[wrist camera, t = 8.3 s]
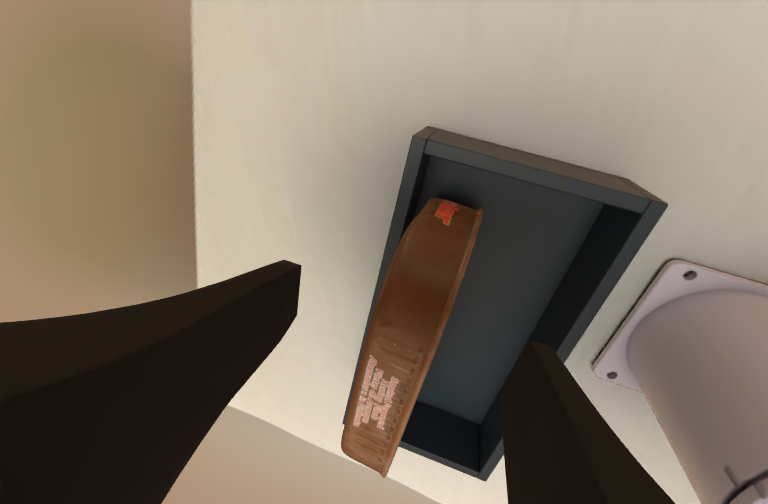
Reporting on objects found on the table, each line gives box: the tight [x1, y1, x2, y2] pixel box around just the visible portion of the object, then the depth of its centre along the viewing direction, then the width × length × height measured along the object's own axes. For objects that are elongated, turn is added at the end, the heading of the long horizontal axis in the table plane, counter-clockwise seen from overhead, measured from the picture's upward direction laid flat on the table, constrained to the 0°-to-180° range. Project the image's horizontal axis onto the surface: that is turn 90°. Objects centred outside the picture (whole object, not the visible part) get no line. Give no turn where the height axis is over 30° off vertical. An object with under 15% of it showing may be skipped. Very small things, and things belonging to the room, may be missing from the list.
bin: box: [343, 126, 668, 481], centre depth 19 cm, size 10×19×4 cm, turn 167°
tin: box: [341, 198, 484, 477], centre depth 17 cm, size 15×3×8 cm, turn 167°
